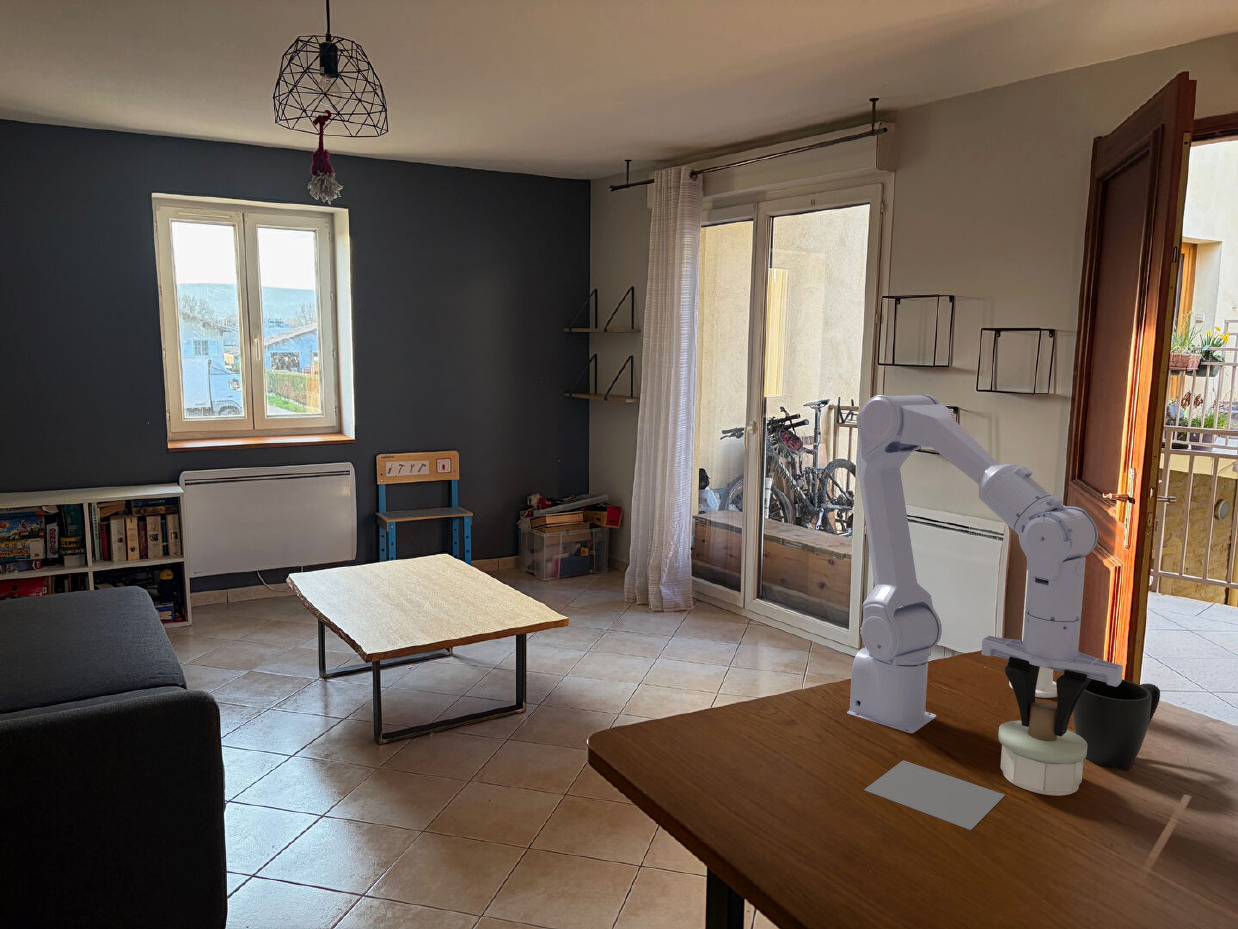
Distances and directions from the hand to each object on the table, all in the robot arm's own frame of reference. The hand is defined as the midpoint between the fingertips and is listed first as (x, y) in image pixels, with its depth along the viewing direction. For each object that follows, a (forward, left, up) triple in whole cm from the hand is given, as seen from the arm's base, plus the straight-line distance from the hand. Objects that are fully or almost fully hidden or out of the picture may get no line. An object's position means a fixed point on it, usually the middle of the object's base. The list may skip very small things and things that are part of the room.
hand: (1043, 728), depth 101 cm
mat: (-7, -12, -7) cm, 16 cm away
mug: (+5, +13, -7) cm, 15 cm away
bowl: (0, 0, -7) cm, 7 cm away
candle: (-10, +30, -7) cm, 32 cm away
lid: (0, 0, -2) cm, 2 cm away
